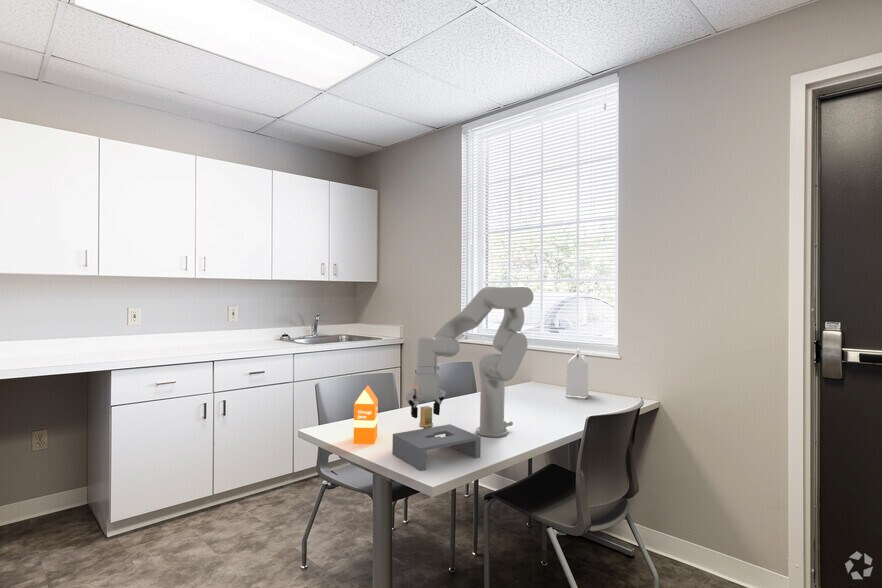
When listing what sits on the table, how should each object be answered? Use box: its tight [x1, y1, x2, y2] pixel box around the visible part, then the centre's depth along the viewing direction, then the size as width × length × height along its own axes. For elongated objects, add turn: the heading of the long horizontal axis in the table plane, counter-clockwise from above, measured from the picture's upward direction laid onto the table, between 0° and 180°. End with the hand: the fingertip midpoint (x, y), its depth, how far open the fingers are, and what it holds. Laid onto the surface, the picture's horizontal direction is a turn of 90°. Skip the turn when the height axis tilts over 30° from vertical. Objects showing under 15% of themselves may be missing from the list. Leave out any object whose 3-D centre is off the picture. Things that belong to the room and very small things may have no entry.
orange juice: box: [353, 385, 379, 445], centre depth 180 cm, size 8×9×20 cm
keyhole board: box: [391, 423, 482, 472], centre depth 164 cm, size 24×18×7 cm
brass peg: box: [418, 405, 434, 429], centre depth 180 cm, size 5×5×12 cm
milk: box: [565, 348, 589, 398], centre depth 266 cm, size 12×12×26 cm
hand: (425, 415), depth 180 cm, fingers open, 9 cm apart
